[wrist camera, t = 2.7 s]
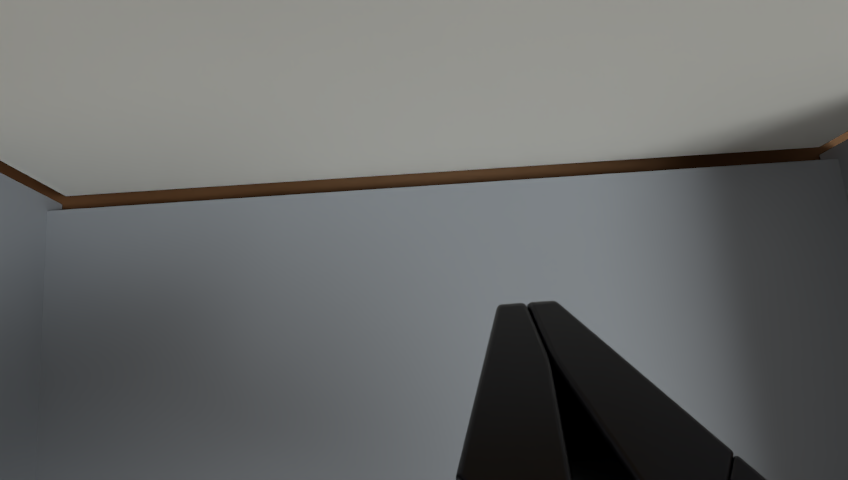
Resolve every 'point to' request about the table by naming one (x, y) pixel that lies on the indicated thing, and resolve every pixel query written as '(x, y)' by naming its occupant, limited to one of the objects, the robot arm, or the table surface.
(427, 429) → the carton
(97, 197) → the table surface
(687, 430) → the robot arm
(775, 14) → the flap
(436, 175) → the table surface
